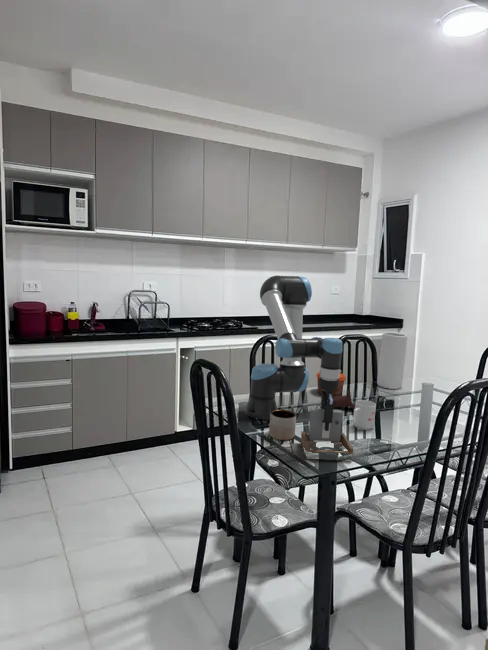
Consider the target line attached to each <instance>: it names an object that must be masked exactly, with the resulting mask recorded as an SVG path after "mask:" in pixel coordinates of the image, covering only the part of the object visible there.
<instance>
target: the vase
mask: <svg viewBox="0 0 488 650" xmlns="http://www.w3.org/2000/svg"><path fill="white" fill-rule="evenodd" d="M407 343H408V335H407V334H404V333H400V332H395V331H394V332H392V331H385V332H382V338H381V344H380V345H381V346H380V350H379V351H380V352H379V353H380V354H379V361H378V370H377V377H376V379H377V380H376V384H377V385H378V386H379V387H380V388H384V389H387V388H388V389H387V390H399V389H401V388H402V386H403V382H404V381H403V379H404V373H405V372H404V371H405V361H406V352H407Z"/></svg>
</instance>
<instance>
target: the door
mask: <svg viewBox="0 0 488 650" xmlns="http://www.w3.org/2000/svg"><path fill="white" fill-rule="evenodd" d="M324 410H325V409H321V408H310V413H309V414H310V415H309V427H308V434H309V435H308V438H309V440H310V441H319V442H340V437H341V433H342V424H343V414H344V413H343V411H342V410H341V409H333V417H332V423H330V432H329V438H322V428H323V422H322V421H324Z"/></svg>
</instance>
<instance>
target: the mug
mask: <svg viewBox="0 0 488 650" xmlns="http://www.w3.org/2000/svg"><path fill="white" fill-rule="evenodd" d="M354 405H355V409H354V410H353V418H352V420H353V426H355V428H357V429H359V430H361V431H370V430H372V429H373V428H374V426H375V419H376V418H375V416H376V408H377V404H376V403H375V402H373V401H370V400H367V399H366V400H364V399H360V400H359V399H357V400H355V403H354Z"/></svg>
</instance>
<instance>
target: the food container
mask: <svg viewBox="0 0 488 650" xmlns="http://www.w3.org/2000/svg"><path fill="white" fill-rule="evenodd" d="M316 378H317V393H318V394H320V395H321V396H322V392H321V391H322V390H324V389H321V388H320V387H319V380H320V378H321V377H320V371H319V372H318V373H316ZM346 379H347V377H346V376H345V374H344V373H342V372H341V373H340V377H339V388H338V389H337V390H334V391H333V394H334V396H336V392H339V396H342V394H343V389H344V386H345V382H346Z"/></svg>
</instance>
